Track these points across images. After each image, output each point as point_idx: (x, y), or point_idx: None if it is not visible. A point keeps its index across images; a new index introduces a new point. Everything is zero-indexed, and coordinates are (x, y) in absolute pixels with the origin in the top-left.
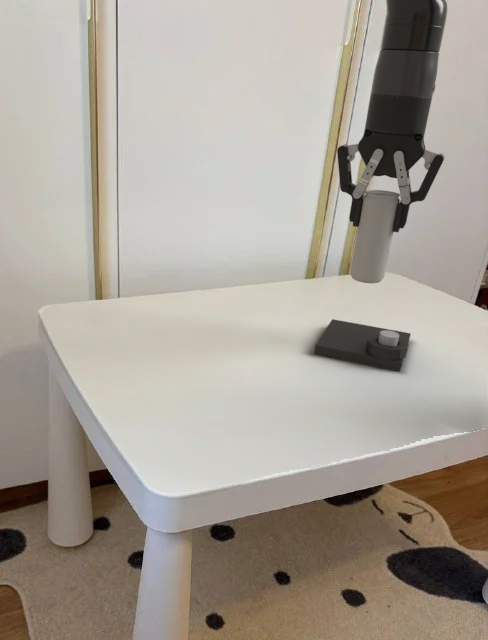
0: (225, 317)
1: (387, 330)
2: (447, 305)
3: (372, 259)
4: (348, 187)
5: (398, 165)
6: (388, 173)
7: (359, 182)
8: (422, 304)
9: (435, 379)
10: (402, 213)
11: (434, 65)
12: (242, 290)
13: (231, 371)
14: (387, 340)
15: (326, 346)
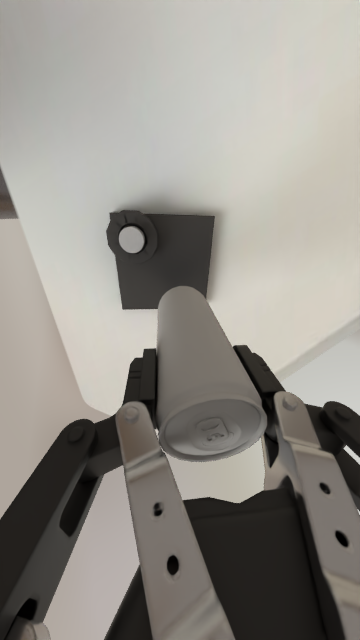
0: (309, 277)
1: (136, 251)
2: (114, 402)
3: (180, 300)
4: (332, 417)
5: (197, 607)
6: (229, 519)
7: (315, 442)
8: None
9: (69, 209)
10: (139, 385)
11: None
12: (291, 352)
13: (309, 89)
14: (131, 226)
15: (201, 218)
